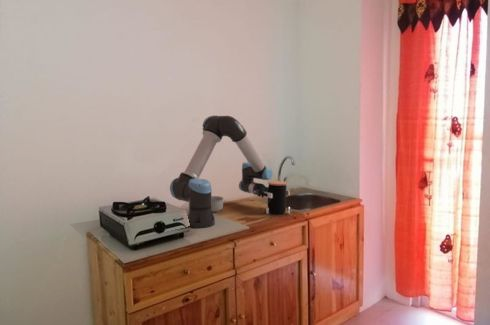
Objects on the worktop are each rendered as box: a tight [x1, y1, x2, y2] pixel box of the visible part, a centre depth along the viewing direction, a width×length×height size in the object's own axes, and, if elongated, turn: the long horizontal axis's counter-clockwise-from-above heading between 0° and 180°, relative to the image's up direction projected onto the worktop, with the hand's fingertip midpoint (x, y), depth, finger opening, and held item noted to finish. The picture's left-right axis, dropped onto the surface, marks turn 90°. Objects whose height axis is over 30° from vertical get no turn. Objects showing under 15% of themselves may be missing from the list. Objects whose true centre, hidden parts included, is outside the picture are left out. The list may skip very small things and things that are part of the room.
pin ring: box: [265, 206, 291, 216], centre depth 222 cm, size 12×14×4 cm
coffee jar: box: [267, 180, 287, 215], centre depth 223 cm, size 11×11×18 cm
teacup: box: [211, 195, 224, 213], centre depth 228 cm, size 14×11×8 cm
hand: (280, 194), depth 220 cm, fingers open, 13 cm apart
